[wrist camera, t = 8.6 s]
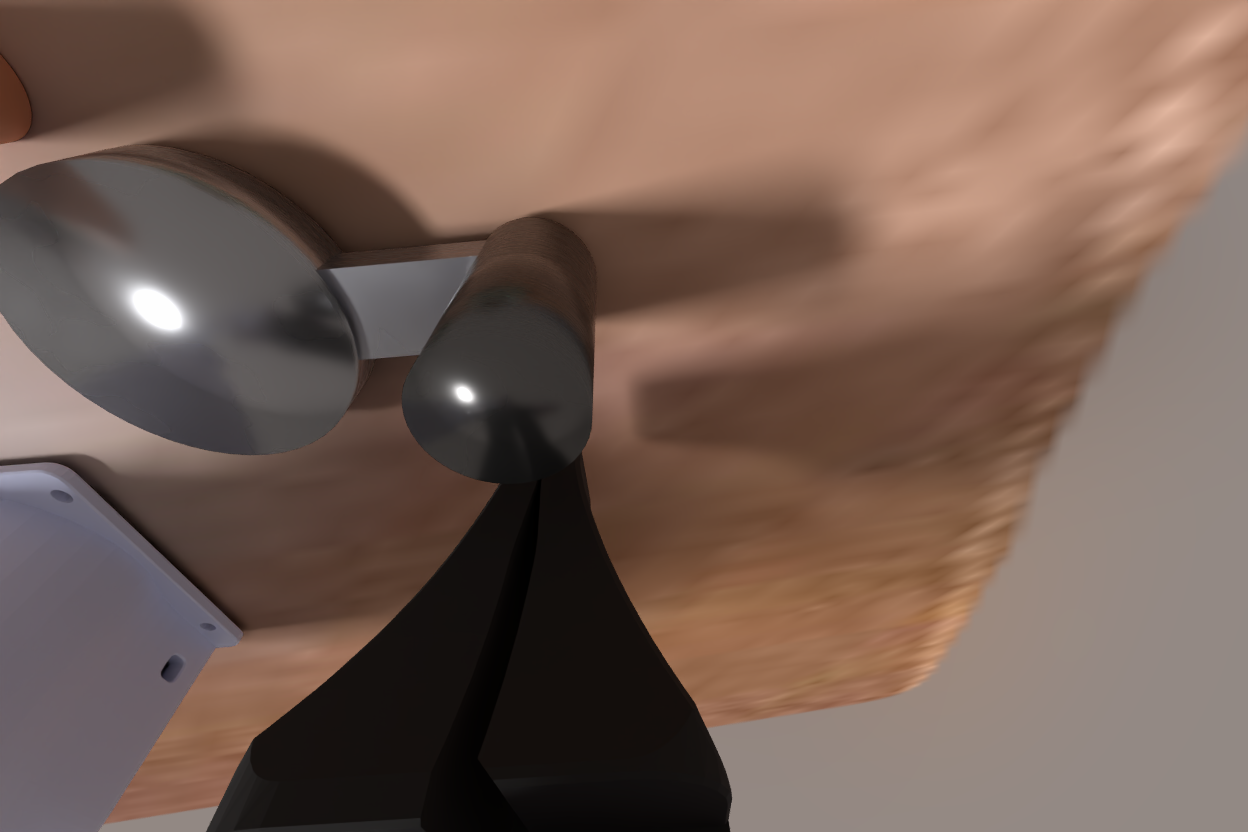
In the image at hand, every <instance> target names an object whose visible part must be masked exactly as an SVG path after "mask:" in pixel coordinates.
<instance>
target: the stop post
mask: <svg viewBox="0 0 1248 832" xmlns="http://www.w3.org/2000/svg"><path fill="white" fill-rule="evenodd" d="M31 119H32V113H31V106H30V103H29V99H28V97H27V94H26V92H25V90H24V88H23V86H22V84H21V82H20V80H19V79H18V77H17V75H16V74H15V72H14V71H13V70H12V68H11V67H10V66H9V64H8V63H7V62H6V61H5V60H4V58H3V57H2V56H1V55H0V144H4V143H9V142H14V141H17V140H19V139H21V138H22V137H24V136H25V135H26V133H27V132H28V130H29V128H30V125H31Z"/></svg>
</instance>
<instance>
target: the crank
mask: <svg viewBox="0 0 1248 832" xmlns="http://www.w3.org/2000/svg"><path fill="white" fill-rule="evenodd" d="M596 285H597V278H596V269H595V265H594V262H593V259H592V257H591V254H590V252H589V251H588V249H587V247H586V246H585V244H584V243H583V242H582V241H581V240H580V238H578V237H577V236H576V235H575V234H574V233H573V232H572V231H570V230H569V229H567V228H566V227H564V226H562V225H561V224H559V223H556V222H554V221H551V220H547V219H543V218H535V217H530V218H520V219H516V220H512V221H509V222H507V223H505V224H503V225H502V226H500V227H499V228H497V229H496V230H495V231H494V232H492V233H491V234H490V236H489V237H488V238H487V239H486V240H482V241H471V242H460V243H449V244H438V245H427V246H416V247H405V248H394V249H383V250H372V251H361V252H350V253H343V252H342V251H341V249H340V248H339V247H338V246H337V244H336V243H335V242H334V241H333V239H332V238H331V237H330V236H329V235H328V234H327V233H326V232H325V231H324V230H323V229H322V228H321V227H320V226H319V225H318V224H317V223H316V222H315V221H314V220H313V219H312V218H311V217H310V216H309V215H307V214H306V213H305V212H304V211H303V210H302V209H301V208H299V207H298V206H297V205H296V204H295V203H293V202H292V201H290V200H289V199H288V198H286V197H285V196H283V195H282V194H281V193H279V192H278V191H277V190H275V189H274V188H272V187H270V186H269V185H267V184H265V183H264V182H262V181H260V180H259V179H257V178H255V177H253V176H252V175H250V174H248V173H246V172H244V171H242V170H239V169H237V168H235V167H233V166H231V165H229V164H227V163H224V162H221V161H219V160H216V159H213V158H210V157H207V156H205V155H202V154H198V153H194V152H190V151H186V150H182V149H178V148H172V147H163V146H155V145H127V146H122V147H116V148H111V149H105V150H101V151H97V152H92V153H88V154H84V155H79V156H75V157H71V158H66V159H62V160H58V161H53V162H49V163H44V164H40V165H36V166H34V167H31V168H29V169H26V170H23V171H21V172H18V173H16V174H15V175H13V176H12V177H10V178H9V179H7V180H6V181H4V182H3V183H1V184H0V312H1V313H2V315H3V316H4V318H5V319H6V321H7V322H8V323H9V325H10V326H11V328H12V329H13V331H14V332H15V333H16V334H17V335H18V337H19V338H20V339H21V340H22V341H23V342H24V344H25V345H26V346H27V347H28V348H29V349H30V351H31V352H33V353H34V354H35V355H36V356H37V357H38V358H39V359H40V360H41V361H42V362H43V363H44V364H45V365H46V366H47V367H48V368H49V369H50V370H51V371H52V372H54V373H55V374H56V375H57V376H58V377H60V378H61V379H62V380H63V381H64V382H65V383H67V384H68V385H69V386H71V387H72V388H73V389H75V390H76V391H78V392H79V393H80V394H82V395H83V396H84V397H86V398H87V399H89V400H90V401H92V402H94V403H95V404H97V405H98V406H100V407H101V408H103V409H105V410H106V411H108V412H110V413H112V414H113V415H115V416H117V417H119V418H121V419H123V420H125V421H126V422H128V423H130V424H133V425H135V426H137V427H139V428H141V429H143V430H146V431H148V432H150V433H153V434H155V435H158V436H161V437H163V438H166V439H169V440H171V441H175V442H178V443H181V444H184V445H188V446H191V447H195V448H200V449H204V450H209V451H214V452H221V453H228V454H240V455H267V454H275V453H282V452H287V451H290V450H294V449H298V448H301V447H303V446H306V445H308V444H311V443H313V442H314V441H316V440H318V439H319V438H321V437H323V436H324V435H325V434H327V433H328V432H329V431H330V430H331V429H332V428H334V427H335V425H336V424H337V423H338V422H339V420H340V419H341V418H342V417H343V415H344V414H345V412H346V411H347V409H348V408H349V406H350V405H351V404H352V402H353V401H354V399H355V398H356V396H357V395H358V393H359V392H360V390H361V389H362V388H363V386H364V385H365V383H366V382H367V380H368V378H369V376H370V374H371V372H372V370H373V366H374V363H375V360H376V358H387V357H399V356H411V355H419V356H418V358H417V360H416V362H415V363H414V365H413V367H412V368H411V370H410V372H409V374H408V376H407V378H406V380H405V383H404V386H403V392H402V408H403V413H404V417H405V420H406V423H407V426H408V428H409V429H410V431H411V433H412V435H413V436H414V438H415V439H416V441H417V442H418V443H419V444H420V446H421V447H422V448H423V449H424V450H425V451H426V452H427V453H428V454H429V455H431V456H432V457H433V458H434V459H435V460H437V461H438V462H440V463H441V464H443V465H444V466H446V467H448V468H449V469H451V470H453V471H455V472H457V473H460V474H462V475H464V476H467V477H470V478H473V479H477V480H481V481H485V482H492V483H501V484H519V483H527V482H532V481H536V480H540V479H543V478H546V477H549V476H551V475H553V474H555V473H557V472H559V471H561V470H562V469H564V468H566V467H567V466H568V465H569V464H571V463H572V462H573V461H574V460H575V459H576V458H577V457H578V456H579V454H580V453H581V452H582V450H583V449H584V447H585V445H586V443H587V441H588V439H589V436H590V432H591V426H592V408H593V377H594V347H595V316H596Z"/></svg>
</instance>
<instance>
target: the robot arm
mask: <svg viewBox="0 0 1248 832" xmlns="http://www.w3.org/2000/svg"><path fill="white" fill-rule="evenodd" d="M242 637H243V632H242V631H241V630H240V629H239V628H238V627H237V626H236V625H235V624H234V623H233V622H232V621H231V620H230V619H229V618H228V617H227V616H226V615H225V614H224V613H223V612H222V611H221V610H219V609H218V608H217V607H216V606H215V605H214V604H213V603H212V602H211V601H210V600H209V599H208V598H207V597H206V596H205V595H204V594H203V593H202V592H201V591H200V590H198V589H197V588H196V587H195V586H194V585H193V584H192V583H191V582H190V581H189V580H188V579H187V578H186V577H185V576H184V575H183V574H182V573H181V572H180V571H179V570H177V569H176V568H175V567H174V566H173V565H172V564H171V563H170V562H169V561H168V560H167V559H166V558H165V557H164V556H163V555H162V554H161V553H160V552H159V551H158V550H156V549H155V548H154V547H153V546H152V545H151V544H150V543H149V542H148V541H147V540H146V539H145V538H144V537H143V536H142V535H141V534H140V533H139V532H138V531H137V530H135V529H134V528H133V527H132V526H131V525H130V524H129V523H128V522H127V521H126V520H125V519H124V518H123V517H122V516H121V515H120V514H119V513H118V512H117V511H116V510H114V509H113V508H112V507H111V506H110V505H109V504H108V503H107V502H106V501H105V500H104V499H103V498H102V497H101V496H100V495H99V494H98V493H97V492H96V491H95V490H93V489H92V488H91V487H90V486H89V485H88V484H87V483H86V482H85V481H84V480H83V479H82V478H81V477H80V476H79V475H78V474H77V473H76V472H74V471H73V470H71V469H70V468H68V467H66V466H64V465H61V464H57V463H49V462H43V463H31V464H19V465H7V466H0V832H98V831H99V830H100V828H101V827H102V825H103V824H104V822H105V821H106V819H107V818H108V817H109V815H110V813H111V812H112V810H113V809H114V807H115V806H116V804H117V802H118V801H119V799H120V798H121V796H122V795H123V793H124V791H125V790H126V788H127V787H128V785H129V784H130V782H131V780H132V779H133V777H134V776H135V774H136V773H137V771H138V769H139V768H140V766H141V765H142V763H143V761H144V760H145V758H146V757H147V755H148V754H149V752H150V750H151V749H152V747H153V746H154V744H155V743H156V741H157V739H158V738H159V736H160V735H161V733H162V732H163V730H164V728H165V727H166V725H167V724H168V722H169V721H170V719H171V717H172V716H173V714H174V713H175V711H176V709H177V708H178V706H179V705H180V703H181V702H182V700H183V698H184V697H185V695H186V694H187V692H188V691H189V689H190V687H191V686H192V684H193V683H194V681H195V680H196V678H197V676H198V675H199V673H200V672H201V670H202V669H203V667H204V665H205V664H206V662H207V661H208V659H209V658H210V656H211V654H212V653H213V651H214V650H215V648H219V647H231V646H235V645H237V644H238V643H239V642H240V640H241V638H242ZM731 802H732V794H731V788H730V784H729V780H728V777H727V774H726V771H725V768H724V766H723V763H722V761H721V758H720V756H719V754H718V751H717V749H716V747H715V745H714V743H713V741H712V738H711V736H710V734H709V732H708V730H707V728H706V726H705V724H704V722H703V720H702V718H701V716H700V713H699V711H698V708H697V706H696V704H695V703H694V701H693V700H692V698H691V697H690V695H689V694H688V692H687V691H686V690H685V688H684V687H683V685H682V684H681V682H680V681H679V679H678V678H677V676H676V675H675V673H674V672H673V670H672V669H671V668H670V666H669V665H668V663H667V661H666V660H665V658H664V657H663V655H662V653H661V652H660V650H659V649H658V647H657V646H656V644H655V642H654V641H653V639H652V638H651V636H650V634H649V632H648V631H647V629H646V627H645V625H644V624H643V622H642V620H641V618H640V617H639V615H638V613H637V611H636V610H635V608H634V606H633V604H632V603H631V601H630V599H629V597H628V595H627V593H626V591H625V589H624V587H623V585H622V583H621V581H620V580H619V577H618V575H617V573H616V571H615V569H614V567H613V565H612V563H611V560H610V558H609V556H608V554H607V551H606V549H605V547H604V544H603V542H602V539H601V537H600V534H599V531H598V529H597V526H596V523H595V521H594V518H593V515H592V512H591V507H590V497H589V491H588V485H587V479H586V474H585V468H584V462H583V456H582V452H581V453H580V454H579V456H578V457H577V458H576V459H575V460H574V461H573V462H572V463H571V464H569V465H568V466H567V467H566V468H564V469H562V470H561V471H559V472H557V473H555V474H553V475H551V476H549V477H546V478H543V479H540V480H536V481H532V482H527V483H519V484H501V483H500V484H499V486H498V488H497V489H496V491H495V492H494V494H493V495H492V497H491V498H490V500H489V501H488V503H487V504H486V506H485V507H484V509H483V510H482V512H481V513H480V515H479V516H478V518H477V519H476V521H475V522H474V524H473V525H472V526H471V528H470V529H469V530H468V532H467V533H466V534H465V536H464V537H463V538H462V540H461V541H460V543H459V544H458V545H457V547H456V548H455V549H454V551H453V552H452V553H451V554H450V556H449V557H448V558H447V559H446V561H445V562H444V563H443V564H442V566H441V567H440V568H439V569H438V570H437V572H436V573H435V574H434V575H433V576H432V577H431V579H430V580H429V581H428V582H427V583H426V584H425V585H424V587H423V588H422V589H421V590H420V591H419V592H418V593H417V594H416V595H415V596H414V598H413V599H412V600H411V601H410V602H409V603H408V604H407V605H406V606H405V607H404V608H403V609H402V610H401V611H400V612H399V613H398V614H397V615H396V617H395V618H394V619H393V620H392V621H391V622H390V623H389V624H388V625H387V626H386V627H385V628H384V629H383V630H382V631H381V632H380V633H378V634H377V635H376V636H375V637H374V638H373V639H372V640H371V641H370V642H369V643H368V644H367V645H366V646H364V647H363V648H362V649H361V650H360V651H359V652H358V653H357V654H356V655H355V656H354V657H352V658H351V659H350V660H349V661H348V662H347V663H346V664H345V665H344V666H343V667H341V668H340V669H339V670H338V671H337V672H336V673H335V674H334V675H332V676H331V677H330V678H329V679H328V680H327V681H326V682H324V683H323V684H322V685H321V686H320V687H318V688H317V689H316V690H315V691H314V692H312V693H311V694H310V695H309V696H307V697H306V698H305V699H304V700H302V701H301V702H300V703H299V704H297V705H296V706H295V707H294V708H292V709H291V710H290V711H289V712H287V713H286V714H285V715H284V716H282V717H281V718H280V719H279V720H277V721H276V722H275V723H273V724H272V725H271V726H270V727H268V728H267V729H266V730H265V731H263V732H262V733H261V734H259V735H258V736H257V737H255V738H254V739H253V741H252V743H251V744H250V746H249V748H248V750H247V752H246V753H245V755H244V757H243V759H242V760H241V762H240V764H239V766H238V767H237V769H236V771H235V773H234V776H233V778H232V780H231V782H230V784H229V786H228V788H227V790H226V792H225V794H224V796H223V798H222V800H221V802H220V804H219V806H218V808H217V811H216V813H215V815H214V817H213V819H212V821H211V823H210V825H209V827H208V829H207V831H206V832H730V827H729V821H728V819H729V813H730V808H731Z"/></svg>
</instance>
